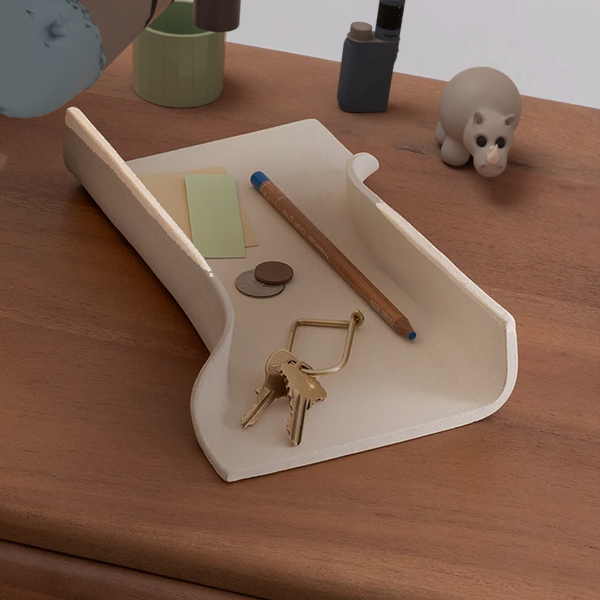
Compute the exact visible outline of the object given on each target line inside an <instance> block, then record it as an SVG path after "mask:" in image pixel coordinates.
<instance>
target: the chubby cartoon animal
mask: <svg viewBox="0 0 600 600" xmlns="http://www.w3.org/2000/svg"><path fill="white" fill-rule="evenodd" d="M522 112H523V103H522V96H521V93H520V91H519V89H518V87H517V85H516V84H515V82H514V81H513V79H512V78H510V77H509V75H507V74H506V73H504V72H503V71H500V70H499V69H496V68H494V67H490V66H473V67H470V68H466V69H464V70H462V71H460V72H458V73H457V74H455V75H454V76H453V77H451V79H450V80H448V81H447V83H446V85H445V86H444V88H443V90H442V92H441V94H440V96H439V101H438V112H437V113H438V118H439V120H438V122H437V124H436V127H435V130H434V139H435V141H436V142H438V143H439V144H440V145H441V148H440V153H439V154H440V155H439V156H440V159H441V160H442V161H443V162H445V163H446V164H448V165H451V166H453V167H454V166H455V167H459V166H463V165H465V164H466V163H467V162H468V161H469V159H470V156H472V157H473V166H474V169H475V170H476V172H477V173H478V174H479V175H481V176H483V177H486V178H495V177H497V176H500V175H501V174H502V173H503V172H504V171H505V169H506V168H507V163H508V153H509V151H510V149H511V148H512V146H513V143H514V139H515V131H516V130H517V128H518V126H519V124H520V121H521V117H522Z"/></svg>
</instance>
